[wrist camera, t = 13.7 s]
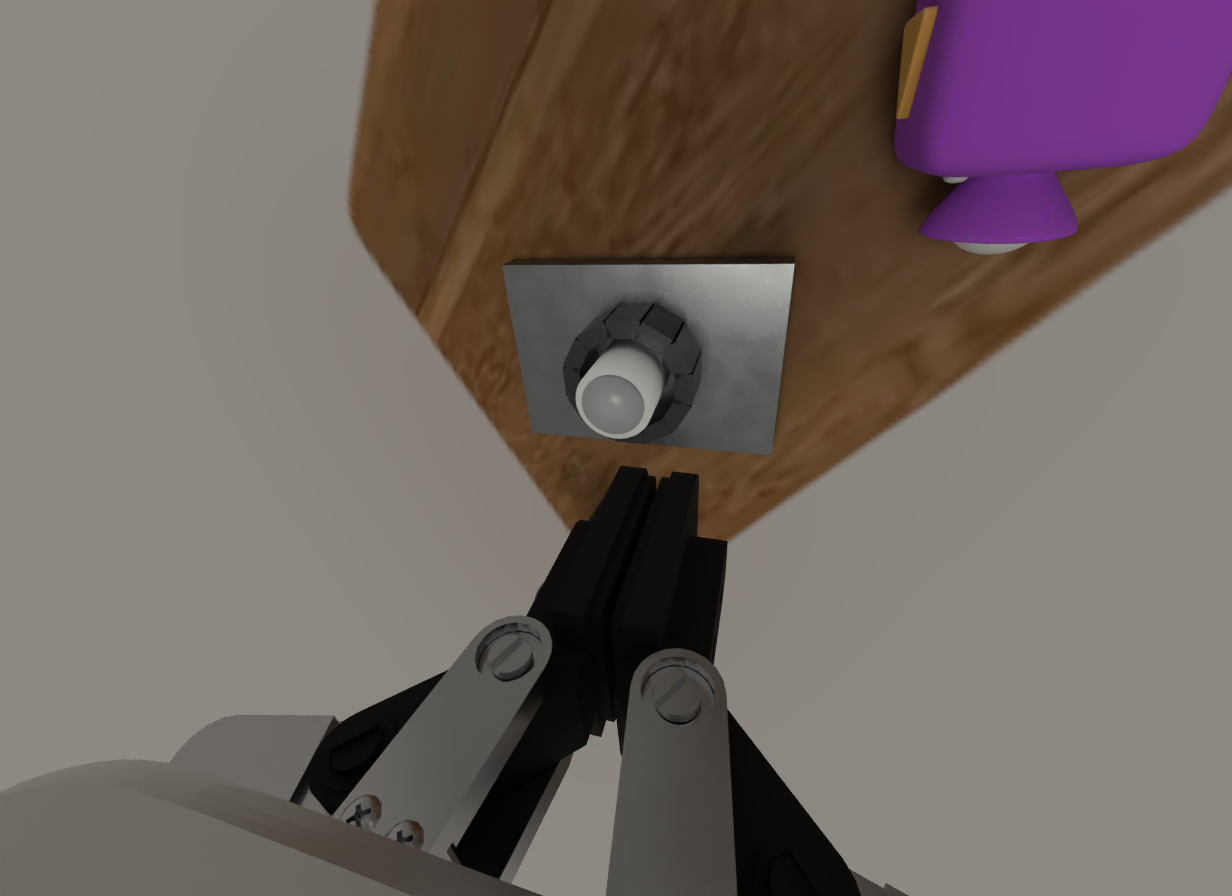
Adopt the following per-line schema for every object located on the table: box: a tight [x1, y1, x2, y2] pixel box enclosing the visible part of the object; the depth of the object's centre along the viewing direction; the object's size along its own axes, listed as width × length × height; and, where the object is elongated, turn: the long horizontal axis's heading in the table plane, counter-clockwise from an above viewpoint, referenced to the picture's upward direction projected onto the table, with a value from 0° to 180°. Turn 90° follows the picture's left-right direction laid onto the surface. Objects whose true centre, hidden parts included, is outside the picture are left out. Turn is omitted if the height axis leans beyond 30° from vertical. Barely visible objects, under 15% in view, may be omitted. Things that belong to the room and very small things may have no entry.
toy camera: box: [894, 0, 1232, 255], centre depth 21 cm, size 11×14×10 cm
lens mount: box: [502, 257, 795, 455], centre depth 36 cm, size 14×20×6 cm
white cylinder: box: [576, 339, 672, 439], centre depth 34 cm, size 5×5×7 cm
